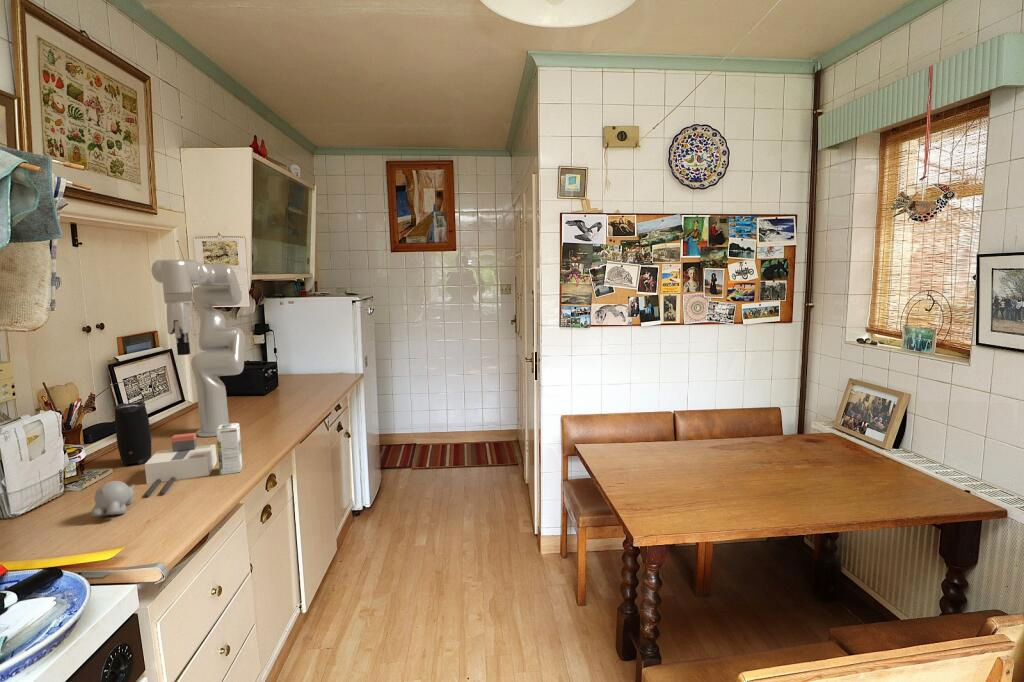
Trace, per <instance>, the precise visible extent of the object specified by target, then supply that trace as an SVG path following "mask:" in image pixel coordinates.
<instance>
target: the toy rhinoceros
mask: <svg viewBox="0 0 1024 682" xmlns="http://www.w3.org/2000/svg"><path fill="white" fill-rule="evenodd" d="M134 488H135V484H131V485H130V486H129V485H128V484H126V482H123V481H120V480H111V481H108V482H105V483H104V484H102V485H101V486H99V487H98V488H97V489H96V491H95V494H94V503H95V505H94V506H93V507H92V509H91V511H90V515H91V516H92V517H101V516H105V517H106V516H110V515H118V516H119V515H123V514H126V512H127V506H128V505H130V504H133V502H134V500H135V499H134V497H135V496H134V495H135V491H134Z"/></svg>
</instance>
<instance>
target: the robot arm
mask: <svg viewBox="0 0 1024 682" xmlns="http://www.w3.org/2000/svg"><path fill="white" fill-rule="evenodd" d="M150 271H151V274H152V277H153V278H154V280H155V282H158V283H160V284H162V290H163V291H162V292H163V293H162V294H163V301H164V304H166V324H167V325H166V326H167V334H168V335H173V334H174V337H175V341H176V342H175V343H176V351H177V356H189V355H190V354H191V348H190V345H191V344H190V336H189V335H190V334H189V333H191V331H192V330H193V322H192V321H193V320H192V314H191V313H192V312H191V306H190V304H192V303H193V304H194V307H195V310H196V311H197V313H198V316H199V319H200V325H199V334H198V347H199V348H200V350H201V351H202V352H199V353H196V354H195V355H194V356H192V357H191V361H190V367H191V370H192V373H193V377H194V380H195V381H194V382H195V386H196V394H197V395H196V396H197V406H198V413H199V414H198V415H199V423H200V424H199V426H200V428H199V429H198V430H196V432H195V433H196V436H197V437H203V438H204V437H205V438H209V437H217V429H218V427H219V425H223V424H230V420H229V410H228V400H227V399H228V398H227V390H226V385H225V383H224V382H223V381H222V380H221V378H219V377H222V376H223V377H224V376H227V377H228V376H236V375H240V374H241V373H242V372H243V371H244V367H245V353H246V351H245V350H246V336H245V333H244V331H243V330H242V329H241V328H240V327H238V326H236V327H235V326H226V319H225V317H224V315H223V314H222V313H221V312H220V311H219V310H217V309H216V308H214V307H231V306H234V307H235V306H238V305H240V303H241V302H242V298H243V296H242V295H243V294H242V291H241V287H240V284H239V280H238V277H237V275H236V272H235V271H234V269H233V267H232V266H231V265H230V264H227V263H203V262H199V261H197V260H194V259H158V260H157V259H156V260H155V261H154V262H153V263H152V265H151V270H150ZM192 286H196V287H194V288H193V289H192Z"/></svg>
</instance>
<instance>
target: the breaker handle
mask: <svg viewBox="0 0 1024 682" xmlns="http://www.w3.org/2000/svg"><path fill="white" fill-rule="evenodd" d="M170 440H171V449H173V451H181V450H190V449H195V448H196V447H197V446H198V442H197V434H196V432H190V433H182V434H180V433H179V434H173V436H171V438H170Z"/></svg>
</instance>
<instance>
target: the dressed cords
mask: <svg viewBox="0 0 1024 682" xmlns="http://www.w3.org/2000/svg"><path fill="white" fill-rule="evenodd" d="M175 481H176V480H175V477H172V478H171V479H170V480H169V481H167V483H166V484H165V485H164V487H163V488H162V489H161V490H160V492H159V494H160V495H161V496H164V495H165V494H166V493H167V492H168V490H169V488H170V487H171V486H172V485H173V483H174V482H175ZM161 483H162V482H161V479H157V480H156V482H155V483H152V485H151V486H150V487H149V489H148V490H147V491H146V493H145V494H144V497H145V498H149V497H150V496H151V495H152V494H153V493H154V491H155V489H157V487H158V486H159V485H160V484H161Z"/></svg>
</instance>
